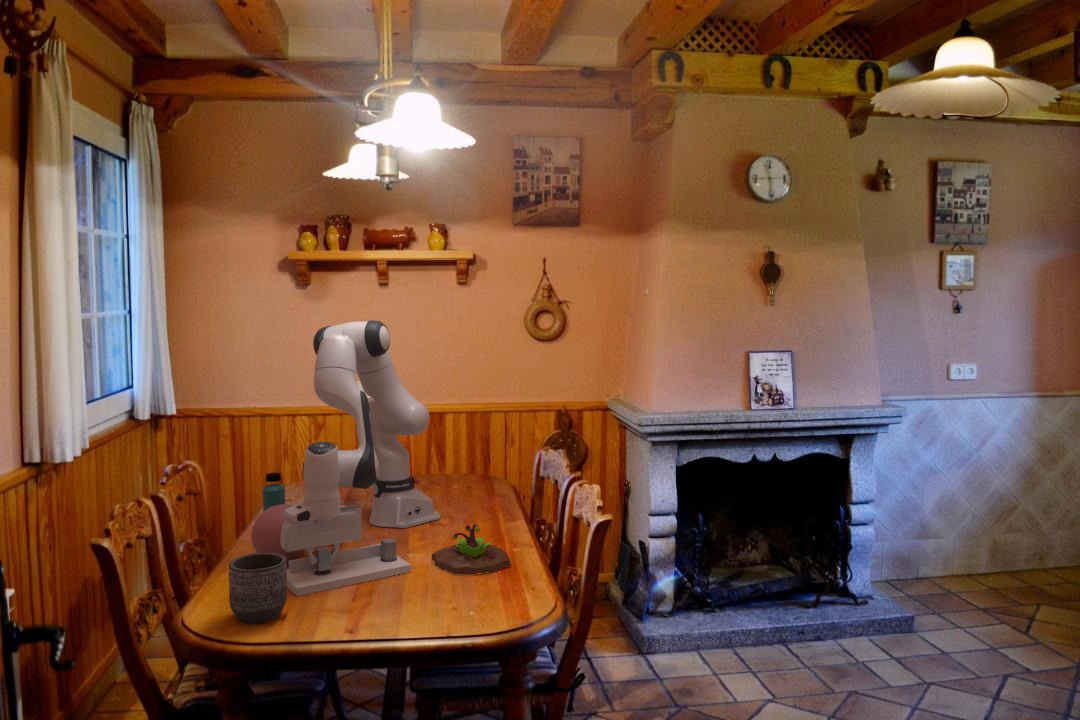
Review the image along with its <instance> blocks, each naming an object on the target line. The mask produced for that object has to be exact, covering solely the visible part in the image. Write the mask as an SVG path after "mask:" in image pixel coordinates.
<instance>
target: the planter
mask: <svg viewBox="0 0 1080 720" xmlns="http://www.w3.org/2000/svg"><path fill="white" fill-rule="evenodd" d="M287 569H288V562H287V560H286V557H285V556H283V555H281V554H277V553H257V552H255V553H248V554H247V553H246V554H243V555H240V556H237V557H236V558H233V559H232V560H230V561H229V563H228V589H229V590H228V596H229V597H228V599H229V602H228V603H229V608H230V610H231V611H232V612H233V614H234V615H235V617H236V618H237V620H238V621H239V622H241V623H243V624H245V625H262V624H266V623H270V622H272V621H274V620H276V619H278V617H279V615H280V613H281V612H282V611H283V609H284V607H285V606H286V604H287V600H288V588H287Z"/></svg>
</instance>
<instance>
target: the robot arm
mask: <svg viewBox="0 0 1080 720" xmlns="http://www.w3.org/2000/svg"><path fill="white" fill-rule="evenodd" d="M312 345H313V346H312V347H313V350H314V353H315V355H316V359H315V362H314V363H315V365H314V374H313V390H314V392H315V395H316V396H317V398H318V399H319V400H320V401H322V403H325V405H328V406H329V407H330V408H331V407H332V408H335V409H337V410H339V411H342V412H343V413H344V412H345V413H347V414H349V415H351V416H352V418H354V419H355V424H356V431H357V439H358V448H357V449H353V450H352V449H344V450H342V449H340V450H339V449H338V446H337V444H335V443H334V442H329V441H316V442H314V443H311V444H309V445H308V446H307V447H306V449H305V455H304V461H303V464H302V480H303V484H304V494H303V500H302V501H300V502H297V503H296V504H294V505H292V506H291V507H289V508H287V509H286V510H285V511H284V515H285V517H286V518H287V519H286V520H285V521H284V522H283V524H282V528H281V539H280V544H281V547H282V548H283V549H284V550H285V551H286V552H292V551H297V550H303V549H305V552H306V554H307V555H308V557H310V563H311V564H312V565H314V564H318V557H317V556H316V555H315V554H313V552H314V553H315V548H321V547H326V546H329V545H331V546H332V548H331V549H330V550H331V561H335V554H336V553H337V552H338V551H339V549H340V547H341V546H340V544H341V543H346V542H351V541H358V540H361V538H362V537H363V525H362V524H363V523H362V513H363V510H362V507H361V505H359V504H356V503H350V504H341V491H340V488H353V489H360V490H367V489H370V487H372V496H373V498H372V499H373V500H372V505H371V507H372V508H371V513H370V517H369V520H368V522H369V524H370V525H373V526H377V527H383V528H384V527H385V528H398V529H407V528H411V527H414V526H418V525H423V524H427V523H430V521H431V522H435V521H439V520H441V514H440V513H439V512H438V511H436V510H434V505H433V501H432V499H431V497H429V495H427V494H425V493H424V492H423V491H421V490H420V489H419V488H417V487H416V486H415V485H418V486H419V485H420V484H421V483H422V480H421V479H420V478H418V477H413V476H412V475H410V469H411V467H410V466H411V465H410V463H411V461H410V459H411V458H410V455H411V454H410V453H409V452H410V451H409V450H408V448H406V446H404V445H403V444H402V443H401V441H400V440H399V438H398V435H399V436H406V437H407V436H415V435H421V434H423V433H424V432H425V431H426V430H427V428H428V426H429V423H430V413H429V410H428V408H427V407H426V405H425V404H423V403H422V402H420V401H418V400H417V399H416V398H415V397H414V396H413V395H412V394H411V393H410V392H409V391H408V389H407V388H406V387H405V386H404V385H403V383H402V381H401V380H400V377H399V376H398V373H397V371H396V367H395V365H394V361H393V359H392V356H391V353H390V351H389V349H390V345H391V336H390V332H389V329H388V327H387V326H386V324H385V323H383V322H382V321H380V320H368V321H367V320H365V321H362V320H360V321H349V322H344V323H338V324H336V325H327V326H323V327H322V328H319V329H318V330H317V331H316V332H315V334H314V337H313V344H312ZM357 376H358V377H357ZM357 378H358V379H359V382H360V385H361V388H362V389H363V390H361V389H360V388H359V385H358V383H357ZM368 397H370V398H368ZM438 519H439V520H438ZM434 520H435V521H434ZM426 522H427V523H426ZM422 523H423V524H422Z"/></svg>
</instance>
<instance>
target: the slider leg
mask: <svg viewBox="0 0 1080 720" xmlns="http://www.w3.org/2000/svg"><path fill="white" fill-rule="evenodd" d="M331 550H332V549H330V547H328V546H320V547H314V556H315V555H316V556H317V557H318V564H315V568H316V569H317V570H318V571H324V570H329V569H331Z"/></svg>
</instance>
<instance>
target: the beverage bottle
mask: <svg viewBox="0 0 1080 720" xmlns="http://www.w3.org/2000/svg"><path fill="white" fill-rule="evenodd" d="M281 475H282V474H281V473H280V472H274V471H273V472H269V473H266V476H265V482H268V484H266V485H265V486H264V487H263V488H262V512H264V511H265V510H266V509H268V508H270V507H272V506H275V505H280V504H286V503H287V502H286V501H287V500H286V487H285V486H284V485H283V484H282V483H277V482H281V480H282V476H281Z"/></svg>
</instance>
